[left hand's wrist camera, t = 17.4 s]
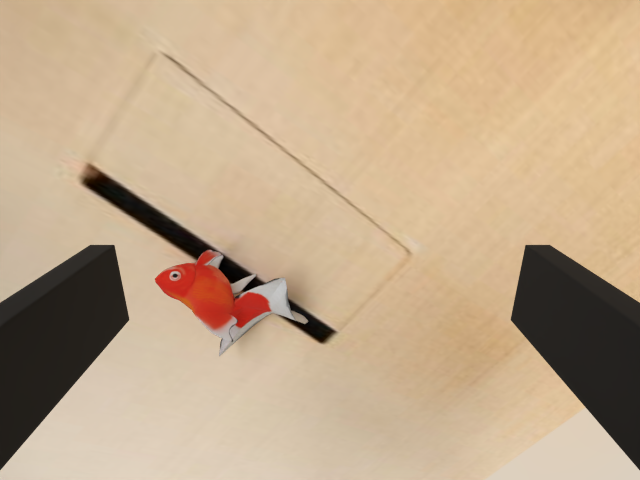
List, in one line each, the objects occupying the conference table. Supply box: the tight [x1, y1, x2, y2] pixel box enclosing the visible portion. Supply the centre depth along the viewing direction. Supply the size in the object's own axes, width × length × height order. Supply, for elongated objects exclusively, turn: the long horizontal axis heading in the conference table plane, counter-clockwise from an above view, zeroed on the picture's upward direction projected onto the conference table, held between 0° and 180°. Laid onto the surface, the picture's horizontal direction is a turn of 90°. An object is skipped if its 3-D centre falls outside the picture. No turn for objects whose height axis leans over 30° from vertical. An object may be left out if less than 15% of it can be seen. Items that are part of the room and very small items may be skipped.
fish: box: [155, 250, 308, 356], centre depth 39 cm, size 11×16×10 cm
